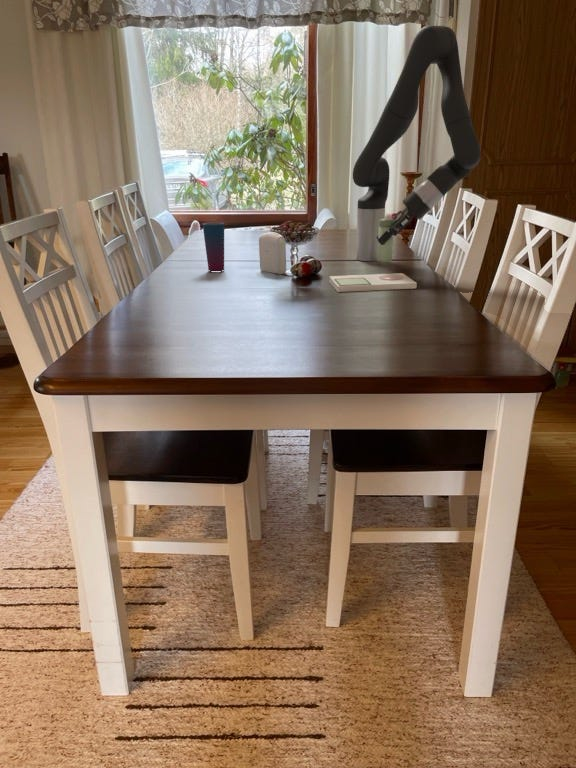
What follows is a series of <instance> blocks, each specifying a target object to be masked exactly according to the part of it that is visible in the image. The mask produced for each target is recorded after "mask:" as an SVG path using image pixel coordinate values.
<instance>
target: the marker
mask: <svg viewBox="0 0 576 768" xmlns="http://www.w3.org/2000/svg"><path fill="white" fill-rule="evenodd" d="M393 221H394V219H392V218H389V217H388V218H386V217H385V218H384V219H379V235H378V239H379V238H380V237H381V236H382V235H383V234H384V233H385V232H386V231H387V229H388V228H390V226H391V223H392V222H393ZM393 247H394V236H393V237H391V238H390V239H389V240H388V241H387V242H386V243H385V244H384V245H381V244H380V243H379V242H378V258H377V260H378V262H384V263H385V262H386V263H387V262H392V261H393V253H394V249H393Z"/></svg>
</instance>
